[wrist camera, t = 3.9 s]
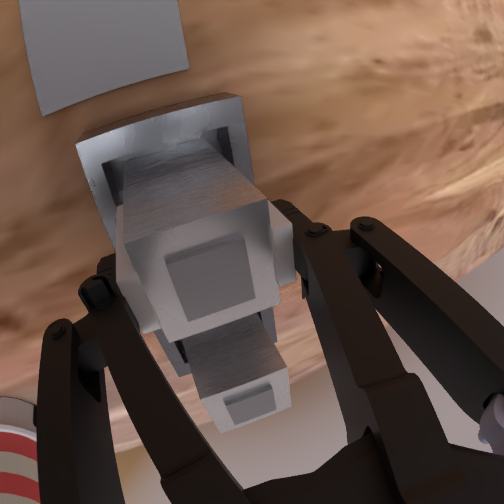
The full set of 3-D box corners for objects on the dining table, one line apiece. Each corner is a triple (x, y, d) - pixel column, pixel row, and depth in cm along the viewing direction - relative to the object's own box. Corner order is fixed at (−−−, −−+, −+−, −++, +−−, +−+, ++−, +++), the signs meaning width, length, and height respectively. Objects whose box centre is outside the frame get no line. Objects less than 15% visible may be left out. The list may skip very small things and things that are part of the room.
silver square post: (168, 288, 24) (201, 404, 15) (231, 266, 25) (289, 371, 16) (186, 331, 26) (222, 436, 18) (241, 311, 27) (293, 409, 19)
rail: (83, 133, 16) (75, 144, 14) (225, 92, 18) (241, 96, 16) (172, 351, 28) (179, 377, 26) (264, 319, 30) (277, 341, 27)
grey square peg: (124, 162, 18) (124, 248, 10) (203, 138, 19) (271, 201, 11) (147, 231, 21) (170, 348, 13) (218, 208, 22) (283, 307, 14)
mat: (20, -12, 9) (17, -14, 9) (166, -57, 11) (167, -60, 11) (44, 115, 15) (42, 117, 14) (188, 68, 17) (189, 68, 16)
